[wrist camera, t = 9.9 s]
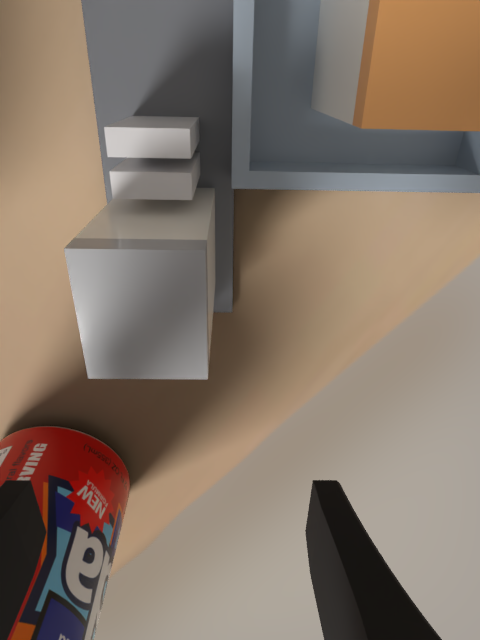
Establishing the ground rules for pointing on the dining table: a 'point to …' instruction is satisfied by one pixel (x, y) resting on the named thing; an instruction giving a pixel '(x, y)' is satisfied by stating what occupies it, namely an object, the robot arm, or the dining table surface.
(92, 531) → the soda can
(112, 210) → the block
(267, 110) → the tray
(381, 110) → the block
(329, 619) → the robot arm
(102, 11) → the board
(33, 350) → the dining table surface
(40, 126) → the dining table surface
